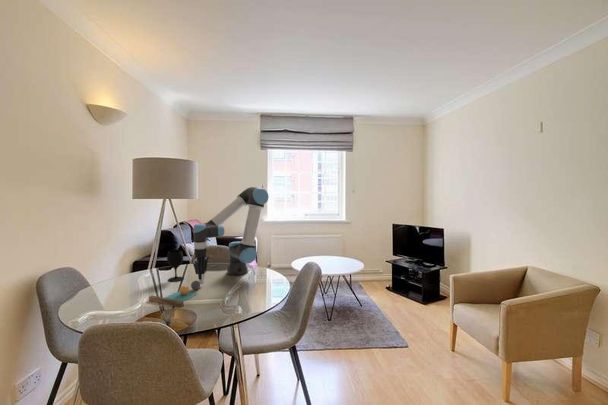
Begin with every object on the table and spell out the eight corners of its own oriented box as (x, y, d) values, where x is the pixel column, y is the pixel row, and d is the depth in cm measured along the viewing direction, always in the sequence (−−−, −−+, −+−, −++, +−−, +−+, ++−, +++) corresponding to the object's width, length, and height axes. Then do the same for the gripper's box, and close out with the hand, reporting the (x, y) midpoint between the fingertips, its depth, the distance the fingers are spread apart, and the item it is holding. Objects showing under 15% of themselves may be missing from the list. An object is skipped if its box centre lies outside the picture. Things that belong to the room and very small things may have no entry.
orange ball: (184, 284, 192) (177, 286, 187) (191, 285, 190) (184, 287, 185) (183, 292, 192) (177, 295, 187) (190, 294, 190) (184, 296, 185)
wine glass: (178, 282, 210) (177, 253, 209) (164, 281, 213) (163, 252, 211) (187, 277, 221) (186, 249, 219) (173, 276, 223) (172, 249, 221)
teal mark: (180, 290, 195) (180, 290, 195) (198, 294, 190) (198, 293, 190) (162, 298, 183) (162, 298, 183) (180, 302, 177) (180, 302, 177)
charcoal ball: (191, 279, 197) (188, 287, 195) (198, 280, 195) (195, 289, 193) (196, 280, 202) (193, 289, 200) (203, 282, 200) (199, 291, 198)
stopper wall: (152, 299, 182) (151, 295, 182) (183, 306, 172) (183, 301, 172) (149, 300, 180) (148, 296, 180) (180, 307, 171) (180, 303, 170)
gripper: (202, 245, 208) (203, 279, 210) (188, 249, 196) (189, 286, 198) (211, 246, 205) (212, 281, 207) (197, 250, 193) (199, 287, 195)
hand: (201, 283), depth 203 cm, fingers closed
